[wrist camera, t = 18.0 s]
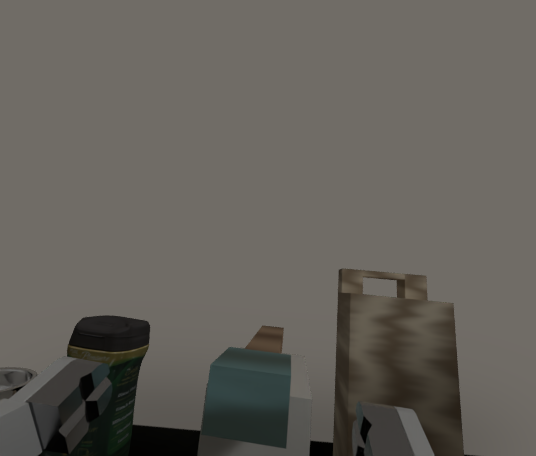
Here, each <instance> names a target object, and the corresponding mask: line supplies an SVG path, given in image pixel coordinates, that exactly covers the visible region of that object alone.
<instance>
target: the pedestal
mask: <svg viewBox="0 0 536 456" xmlns="http://www.w3.org/2000/svg"><path fill="white" fill-rule="evenodd" d="M241 349H245V348H241ZM281 354H285V353H281ZM288 355H291V385H290V400H289V415H288V429H287V444H286V449H284V448H278V447H272V446H266V445H260V444H255V443H249V442H243V441H237V440H231V439H225V438H219V437H213V436H207V435H201V432H202V425H203V418H202V425H201V432H200V440H199V447H198V455H197V456H309V451H310V431H311V411H312V396H311V390H310V385H309V380H308V373H307V368H306V362H305V357H304V356H301V355H293V354H288ZM207 388H208V384H207ZM207 388H206V395H207ZM205 403H206V396H205ZM205 403H204V410H205ZM203 417H204V411H203Z"/></svg>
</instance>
